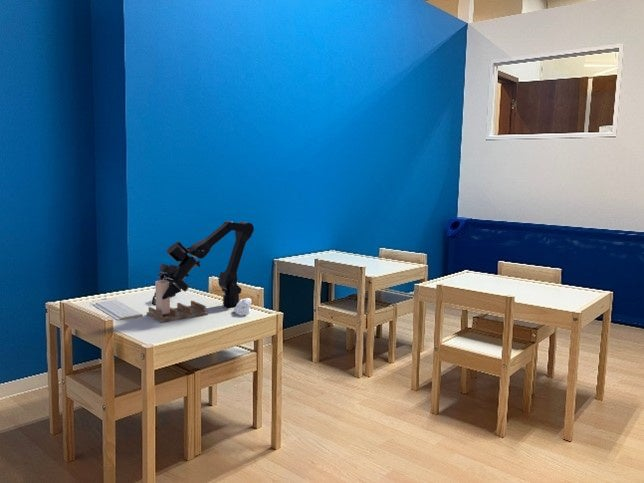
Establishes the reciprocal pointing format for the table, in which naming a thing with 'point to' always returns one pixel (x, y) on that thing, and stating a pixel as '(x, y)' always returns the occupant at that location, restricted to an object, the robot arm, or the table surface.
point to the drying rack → (178, 312)
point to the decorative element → (155, 299)
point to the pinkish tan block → (162, 304)
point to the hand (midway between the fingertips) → (159, 297)
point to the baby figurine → (243, 306)
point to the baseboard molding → (117, 309)
